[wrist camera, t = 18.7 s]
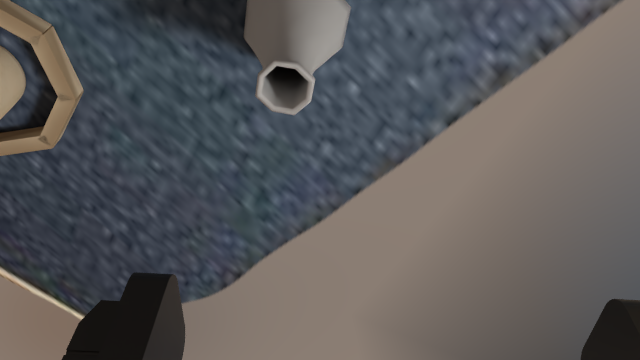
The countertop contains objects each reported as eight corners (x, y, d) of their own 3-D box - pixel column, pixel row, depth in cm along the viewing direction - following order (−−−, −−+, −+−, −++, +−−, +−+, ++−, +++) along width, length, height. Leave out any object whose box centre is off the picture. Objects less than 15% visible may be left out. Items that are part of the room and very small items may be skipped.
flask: (227, 40, 39) (197, 111, 31) (271, -55, 35) (251, -2, 27) (317, 85, 41) (312, 164, 33) (369, 0, 37) (377, 65, 29)
